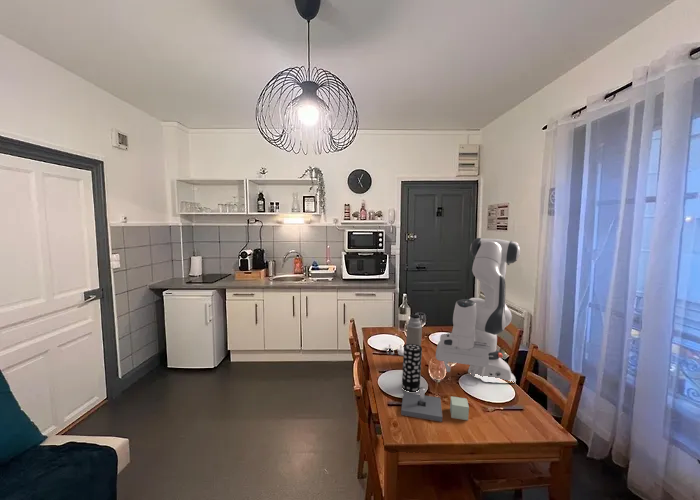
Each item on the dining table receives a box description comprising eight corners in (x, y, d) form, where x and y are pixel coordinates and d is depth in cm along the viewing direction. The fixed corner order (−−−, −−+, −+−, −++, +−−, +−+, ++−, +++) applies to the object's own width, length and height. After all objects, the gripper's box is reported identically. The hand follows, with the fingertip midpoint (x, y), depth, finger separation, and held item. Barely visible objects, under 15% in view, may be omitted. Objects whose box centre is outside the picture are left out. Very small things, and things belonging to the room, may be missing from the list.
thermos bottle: (418, 362, 176) (421, 313, 174) (421, 368, 168) (424, 317, 166) (404, 361, 176) (406, 312, 174) (406, 368, 168) (408, 317, 166)
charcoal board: (440, 402, 137) (440, 397, 137) (442, 421, 124) (442, 417, 124) (403, 396, 141) (403, 392, 141) (401, 414, 127) (401, 410, 127)
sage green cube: (465, 411, 131) (466, 398, 131) (468, 420, 125) (469, 407, 125) (449, 408, 133) (450, 396, 132) (451, 417, 127) (452, 404, 126)
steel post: (423, 405, 133) (424, 387, 132) (423, 408, 131) (424, 390, 130) (419, 404, 133) (420, 387, 133) (419, 407, 132) (420, 389, 131)
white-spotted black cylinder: (399, 389, 146) (401, 348, 144) (404, 382, 154) (406, 342, 152) (416, 395, 142) (419, 352, 141) (421, 386, 150) (424, 346, 148)
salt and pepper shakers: (405, 357, 182) (407, 350, 193) (405, 350, 182) (408, 343, 192) (385, 354, 186) (388, 347, 196) (385, 347, 185) (388, 341, 196)
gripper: (489, 340, 127) (486, 373, 128) (436, 334, 132) (434, 366, 133) (492, 346, 121) (489, 381, 122) (437, 339, 126) (434, 372, 127)
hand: (460, 373), depth 128 cm, fingers open, 8 cm apart
